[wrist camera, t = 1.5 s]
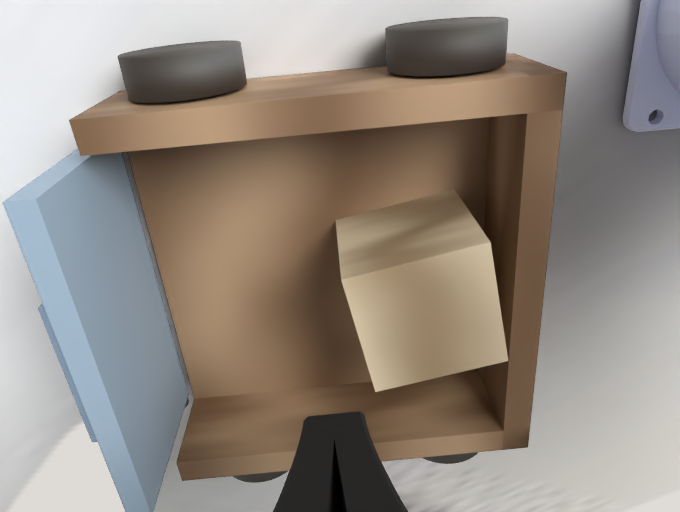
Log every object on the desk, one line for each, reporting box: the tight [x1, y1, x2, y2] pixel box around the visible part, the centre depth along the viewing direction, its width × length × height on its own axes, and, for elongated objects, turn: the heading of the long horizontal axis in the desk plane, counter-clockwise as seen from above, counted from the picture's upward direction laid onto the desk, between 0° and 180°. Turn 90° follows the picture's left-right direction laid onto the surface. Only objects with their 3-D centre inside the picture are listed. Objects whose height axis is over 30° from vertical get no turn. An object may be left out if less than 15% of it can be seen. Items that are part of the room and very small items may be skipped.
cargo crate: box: [335, 189, 508, 392], centre depth 19 cm, size 4×4×4 cm
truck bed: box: [69, 17, 567, 482], centre depth 20 cm, size 14×17×4 cm
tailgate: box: [3, 149, 189, 512], centre depth 18 cm, size 1×12×6 cm, turn 4°
